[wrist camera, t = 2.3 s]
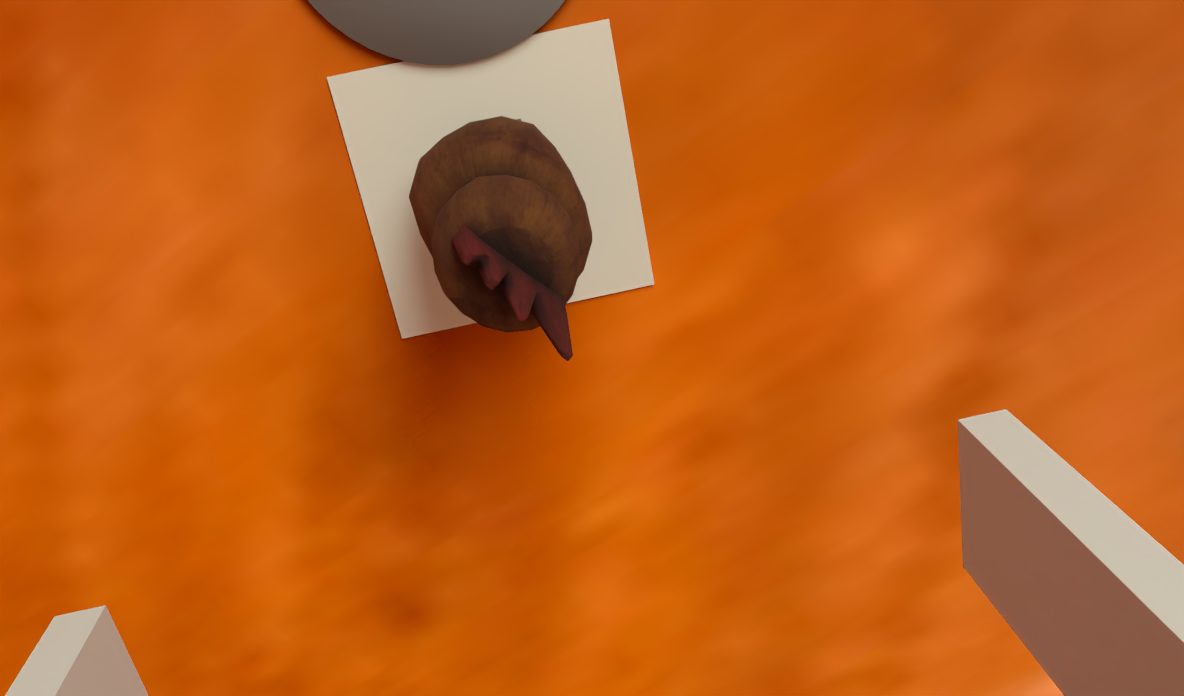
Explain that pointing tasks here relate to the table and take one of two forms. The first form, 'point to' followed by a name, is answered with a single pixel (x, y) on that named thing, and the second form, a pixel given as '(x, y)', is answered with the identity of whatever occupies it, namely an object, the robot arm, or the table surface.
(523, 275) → the wooden figurine
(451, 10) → the coaster
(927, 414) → the table surface
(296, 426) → the table surface
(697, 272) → the table surface
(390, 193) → the white card
